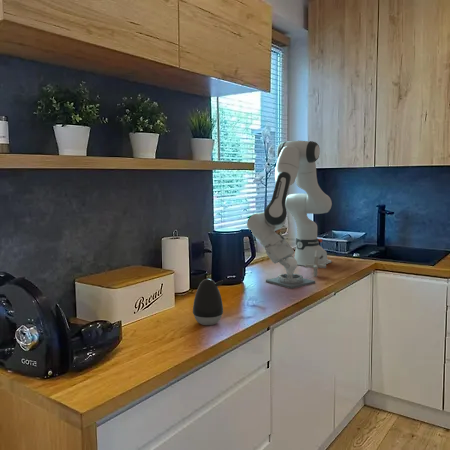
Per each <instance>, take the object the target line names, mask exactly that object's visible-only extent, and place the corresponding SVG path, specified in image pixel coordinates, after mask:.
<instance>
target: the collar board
mask: <svg viewBox="0 0 450 450" xmlns="http://www.w3.org/2000/svg"><path fill="white" fill-rule="evenodd" d="M265 282H266V283H269V284H272V285H276V286H279V287H284V288H285V289H286V288H287V289H290V290H291V289H292V290H293V289H296V288H301V287H305V286H308V285H313V284H316V280H313V279H307V278H305V277H303V274H298V273H293V278H292V279H290V278H287V273H281V274H278V275H277V277H273V278H268V279H265Z"/></svg>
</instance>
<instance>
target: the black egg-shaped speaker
mask: <svg viewBox="0 0 450 450" xmlns="http://www.w3.org/2000/svg"><path fill="white" fill-rule="evenodd" d="M223 283H224V280H222V279H221V280H219V281H217V282H215V281H214V280H213V279H211V278H204V279H203V280H202V281H201V282H200V283H199V285H198V287H197V289H196V292H195V296H194V299H193V304H192V306H193V307H192V314H193V316H194V319H195V320H196V322H197V323H198V324H200V325H203V326H213V325H215V324H218V323H219V322H220V320H221V319H222V316H223V313H224V305H223V301H222V300H223V299H222V296H221V295H222V294H221V293H220V290H219V286H221V285H222V284H223Z"/></svg>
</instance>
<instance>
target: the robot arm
mask: <svg viewBox="0 0 450 450" xmlns="http://www.w3.org/2000/svg"><path fill="white" fill-rule="evenodd" d="M320 149H321V148H320V145H319V144H318V143H317V142H316V141H313V140H308V141H306V140H292V141H291V140H290V141H281V142H280V143H279V144H278V145H277V148H276V157H277V161H276V165H275V169H274V182H275V183H274V187H273V188H274V189H273V192H272V193H273V194H272V195H271V196H272V197H271V200H270V201H269V203H268V204H267V205H266V206H265V209H264V211H262V212H255V213H253V214H252V215H251V216H250V217H249V218H248V220H247V222H246V225H247V228H248V230H249V231H250V230H251V232H252V233H251V232H250V233H251V234H252V236H253V237H254V238H255V239H257V240H258V241H259V245H261V247H263V249H264V250H265V253H266V255H267V257H268V258H269V259H270V260H271V262H272V263H273V264H278V263H279V264H280V265H281V266H283V267H285V268H286V269H287V268H289V267H290V265H289V264H288V263H286V262H285V261H284V260H285V259H286V258H287V257H293V258H295V259H296V261H297V266H303V267H305V264H314V256H318V264H324V265H327V264H331V263H332V260H331V259H329V258H328V253H327V250H325V249H324V248H323V247H322V246H321V245H320V243H323V239H322V238H318V225H317V223H316V222H315V220H312V219H310V218H309V216H308V214H309V215H310V214H312V215H320V214H321V215H322V214H327V213H329V212H330V210H331V208H332V205H333V203H332V202H333V201H332V199H331V197H330V196H329V195H328V194H326V193H325V192H324V191H323V190H322V188H321V187H320V185H319V183H318V177H317V166H316V162H317V161H318V159H319V158H320V153H321V150H320ZM294 183H295V184H296V186H297V187H298V188H299V189H301V190H303V191H304V193H301V192H300V193H299V192H298V193H290V194H288V191H289V188H290V186H292V185H294ZM287 213H289V214H290V215H292V217H293V219H294V221H295V223H296V237H295V238H296V239H295V244H296V246H295V251H294V249H293V248H292V247H293V246H291V244H289V243H288V242H287V240H286V238H285V237H284V235H280V234H278V233H277V232H276V231H278V230H280V229H281V228H282V227H284V226H285V225H286V220H287V215H288V214H287ZM293 255H294V256H293ZM285 268H284V269H285ZM286 269H285V270H286Z"/></svg>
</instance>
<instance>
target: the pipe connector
mask: <svg viewBox="0 0 450 450" xmlns="http://www.w3.org/2000/svg"><path fill="white" fill-rule="evenodd" d="M304 268H310V269H313V277H315V278H317V277H318V269H327V264H325V265H324V264H318V256H314V264H305V266H304Z"/></svg>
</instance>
